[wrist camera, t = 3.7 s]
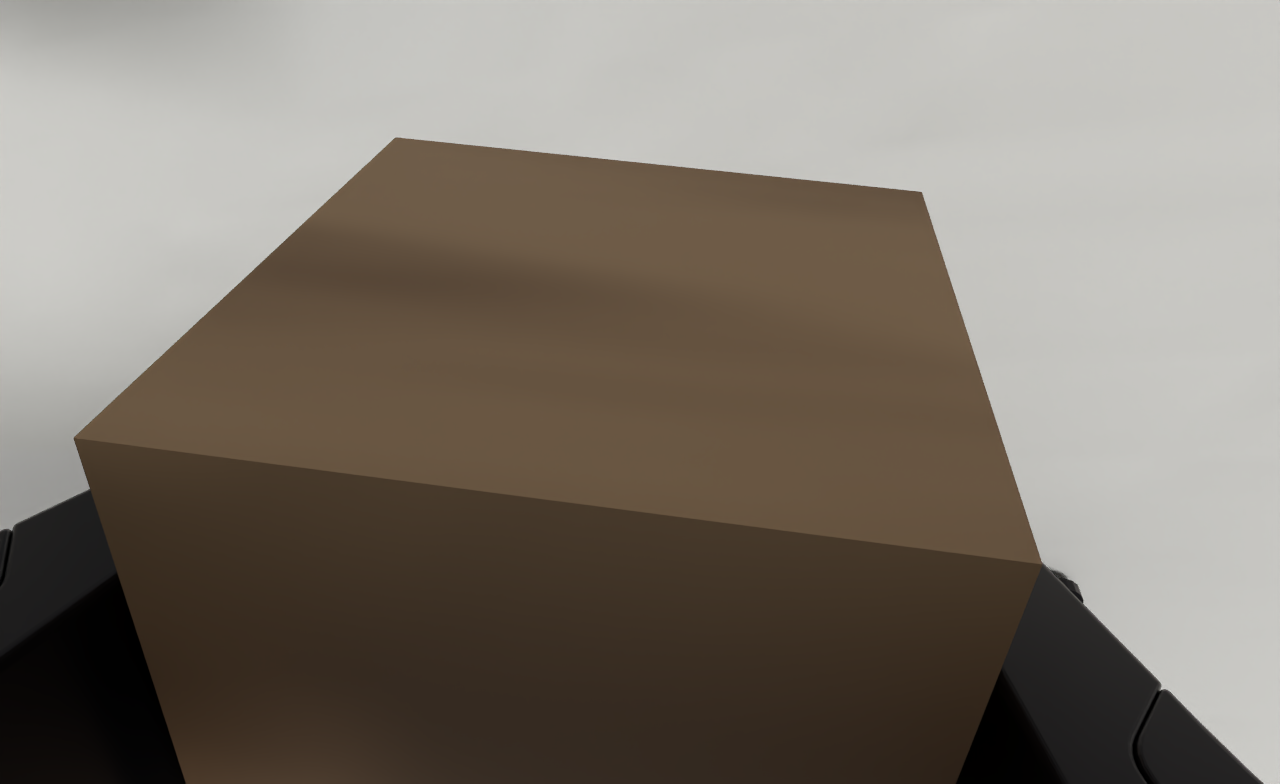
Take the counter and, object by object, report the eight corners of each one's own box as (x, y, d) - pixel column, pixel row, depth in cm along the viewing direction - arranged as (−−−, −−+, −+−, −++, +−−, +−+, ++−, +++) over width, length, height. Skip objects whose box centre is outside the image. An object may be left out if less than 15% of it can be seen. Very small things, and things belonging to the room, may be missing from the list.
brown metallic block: (830, 583, 12) (854, 1039, 7) (427, 529, 12) (235, 934, 8) (921, 191, 9) (1040, 563, 5) (395, 137, 9) (72, 437, 5)
